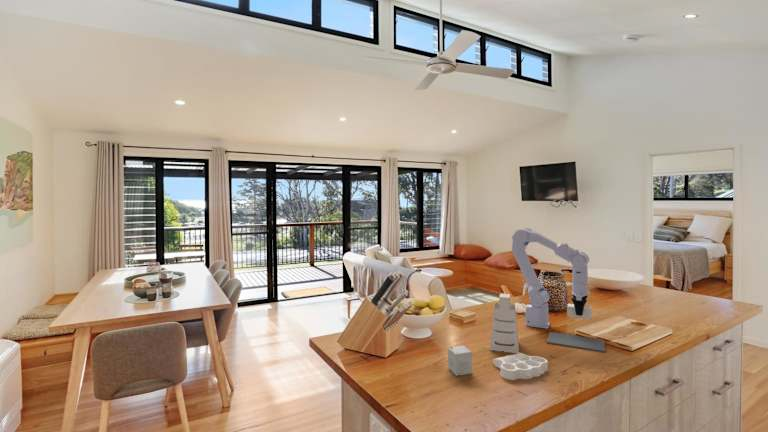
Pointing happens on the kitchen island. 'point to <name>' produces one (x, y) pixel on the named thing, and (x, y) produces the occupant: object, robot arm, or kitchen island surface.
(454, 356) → the skincare box
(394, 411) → the kitchen island surface
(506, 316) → the grater
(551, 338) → the mat
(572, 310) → the block
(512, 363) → the white scalloped muffin tray
